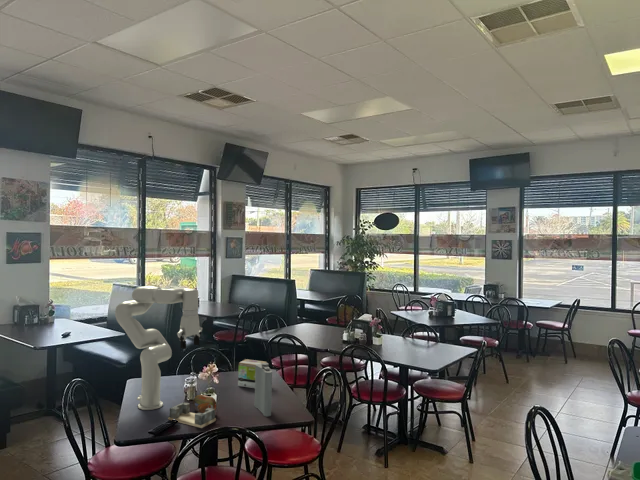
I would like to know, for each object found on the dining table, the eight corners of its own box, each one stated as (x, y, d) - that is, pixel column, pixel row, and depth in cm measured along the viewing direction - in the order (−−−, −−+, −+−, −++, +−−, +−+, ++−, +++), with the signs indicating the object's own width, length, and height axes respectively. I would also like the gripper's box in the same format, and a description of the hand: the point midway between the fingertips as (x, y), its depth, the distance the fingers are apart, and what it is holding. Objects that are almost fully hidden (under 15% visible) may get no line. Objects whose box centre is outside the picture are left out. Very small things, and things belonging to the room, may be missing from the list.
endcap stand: (201, 428, 224) (201, 416, 224) (168, 419, 234) (168, 408, 234) (215, 420, 234) (215, 409, 234) (183, 412, 243) (183, 401, 243)
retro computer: (237, 386, 289) (238, 362, 289) (244, 382, 298) (245, 358, 298) (260, 389, 284) (260, 365, 284) (266, 384, 294) (267, 361, 294)
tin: (192, 409, 248) (193, 393, 248) (197, 408, 251) (197, 392, 251) (212, 416, 240) (213, 399, 240) (217, 414, 243) (217, 398, 243)
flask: (273, 415, 243) (274, 366, 243) (265, 416, 241) (266, 367, 241) (261, 404, 258) (263, 358, 258) (253, 405, 256) (254, 359, 256)
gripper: (196, 310, 251) (196, 342, 251) (172, 314, 235) (172, 349, 235) (207, 311, 247) (207, 344, 247) (183, 316, 232) (183, 350, 232)
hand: (190, 346), depth 241 cm, fingers open, 9 cm apart
